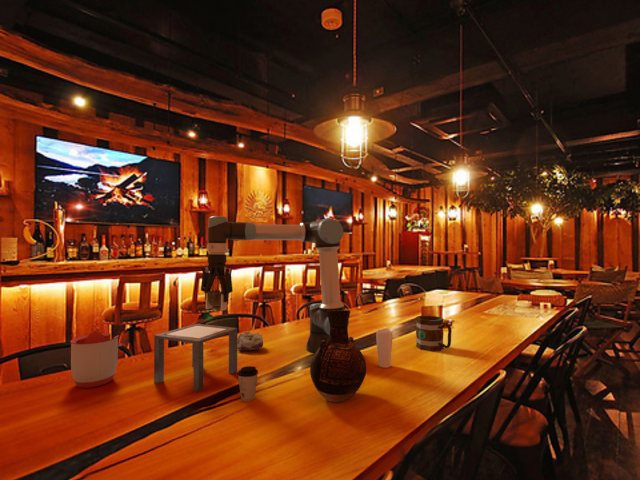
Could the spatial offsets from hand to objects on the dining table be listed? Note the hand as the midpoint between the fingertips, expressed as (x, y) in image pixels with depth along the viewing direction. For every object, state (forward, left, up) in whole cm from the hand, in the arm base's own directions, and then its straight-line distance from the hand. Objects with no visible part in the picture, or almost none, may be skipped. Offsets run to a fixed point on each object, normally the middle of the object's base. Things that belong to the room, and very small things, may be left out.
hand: (216, 309), depth 144 cm
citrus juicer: (+35, +26, -26) cm, 51 cm away
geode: (+8, -33, -26) cm, 43 cm away
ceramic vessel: (-55, +2, -26) cm, 61 cm away
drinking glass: (-62, -35, -26) cm, 76 cm away
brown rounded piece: (0, 0, 0) cm, 0 cm away
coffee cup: (-27, +15, -26) cm, 40 cm away
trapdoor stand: (+3, +7, -26) cm, 27 cm away
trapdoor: (+3, +7, -9) cm, 12 cm away
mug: (-79, -70, -26) cm, 109 cm away
